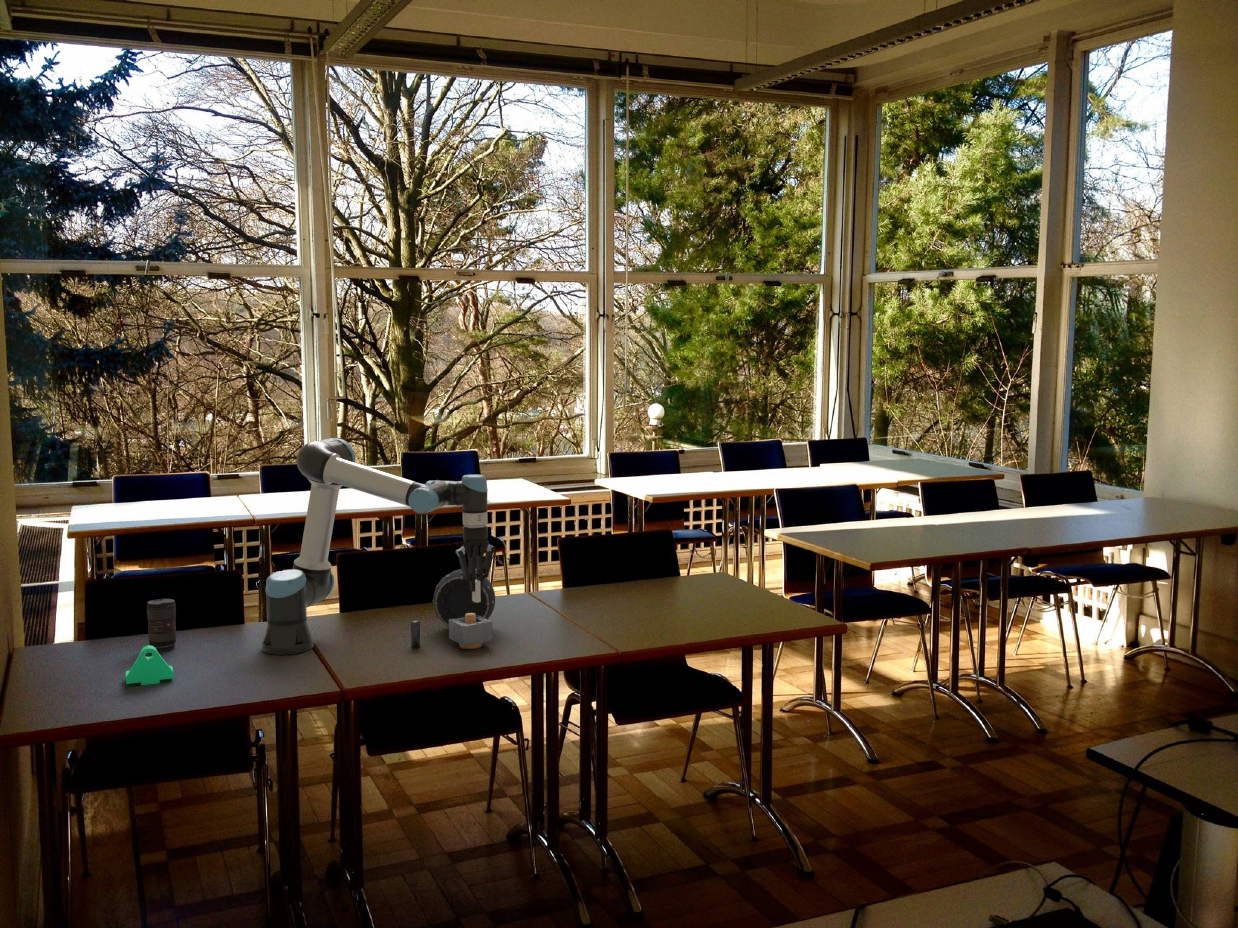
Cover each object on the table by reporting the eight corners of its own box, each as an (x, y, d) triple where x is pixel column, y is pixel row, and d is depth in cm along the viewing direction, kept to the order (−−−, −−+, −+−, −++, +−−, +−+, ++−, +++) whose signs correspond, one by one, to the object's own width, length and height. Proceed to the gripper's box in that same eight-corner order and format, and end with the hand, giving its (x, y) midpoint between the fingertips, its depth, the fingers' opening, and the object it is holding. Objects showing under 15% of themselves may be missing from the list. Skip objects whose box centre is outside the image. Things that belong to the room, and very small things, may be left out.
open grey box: (463, 645, 324) (463, 626, 323) (448, 638, 332) (448, 619, 332) (492, 640, 330) (492, 621, 329) (477, 633, 338) (477, 614, 337)
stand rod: (410, 647, 328) (410, 622, 327) (411, 645, 331) (411, 620, 330) (419, 647, 329) (419, 622, 328) (420, 645, 331) (420, 620, 330)
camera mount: (172, 674, 303) (170, 638, 301) (173, 681, 296) (172, 645, 294) (126, 679, 297) (124, 643, 296) (126, 687, 291) (124, 651, 289)
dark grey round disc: (492, 634, 344) (492, 573, 342) (431, 633, 345) (430, 573, 342) (497, 625, 355) (496, 566, 353) (437, 624, 355) (436, 566, 353)
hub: (458, 649, 327) (457, 617, 326) (459, 642, 335) (459, 611, 333) (481, 648, 328) (481, 616, 327) (482, 642, 335) (482, 611, 334)
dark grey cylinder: (182, 648, 327) (180, 600, 325) (156, 654, 321) (154, 605, 319) (169, 643, 332) (167, 596, 331) (143, 649, 326) (141, 601, 324)
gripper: (461, 529, 317) (462, 606, 319) (500, 525, 324) (501, 600, 327) (450, 525, 323) (451, 601, 326) (488, 521, 330) (489, 596, 333)
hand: (476, 601), depth 326 cm, fingers closed
